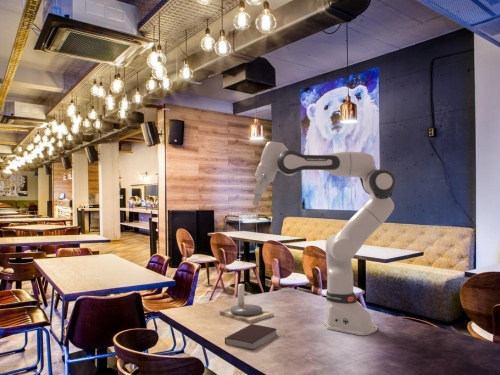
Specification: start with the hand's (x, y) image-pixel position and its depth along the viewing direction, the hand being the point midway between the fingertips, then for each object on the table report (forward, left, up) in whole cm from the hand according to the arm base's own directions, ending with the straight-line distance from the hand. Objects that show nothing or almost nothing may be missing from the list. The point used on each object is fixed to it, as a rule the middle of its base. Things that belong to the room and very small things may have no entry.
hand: (255, 204), depth 172 cm
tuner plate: (+10, -5, -52) cm, 53 cm away
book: (-14, +16, -53) cm, 57 cm away
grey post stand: (+11, -5, -50) cm, 51 cm away
